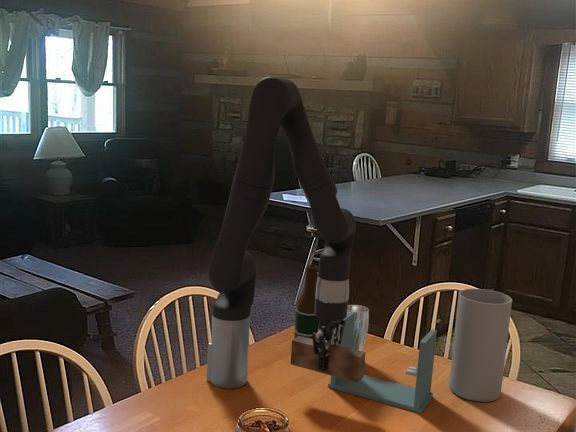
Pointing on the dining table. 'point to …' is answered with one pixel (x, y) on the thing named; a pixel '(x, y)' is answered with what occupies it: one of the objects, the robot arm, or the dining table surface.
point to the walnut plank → (340, 359)
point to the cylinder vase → (480, 344)
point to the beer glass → (359, 325)
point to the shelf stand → (388, 390)
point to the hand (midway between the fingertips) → (326, 366)
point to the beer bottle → (307, 306)
